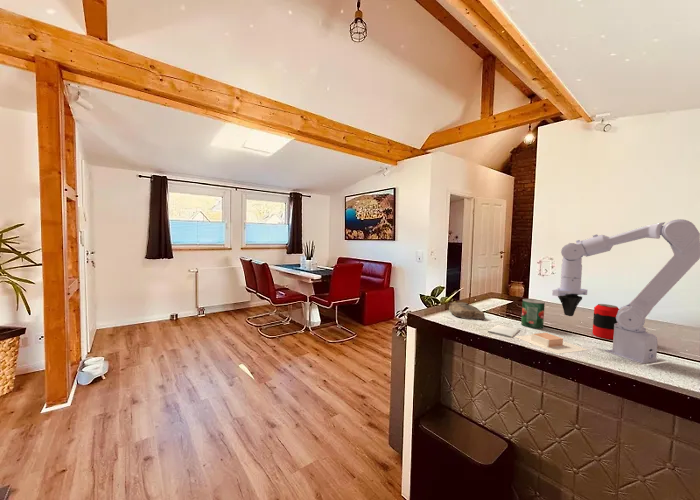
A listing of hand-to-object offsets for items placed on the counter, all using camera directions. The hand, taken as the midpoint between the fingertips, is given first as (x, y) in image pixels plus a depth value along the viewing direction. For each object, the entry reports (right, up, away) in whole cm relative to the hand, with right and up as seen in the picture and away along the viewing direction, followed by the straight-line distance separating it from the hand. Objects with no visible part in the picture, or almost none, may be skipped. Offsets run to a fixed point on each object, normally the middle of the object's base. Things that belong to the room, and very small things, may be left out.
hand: (568, 315), depth 102 cm
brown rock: (-23, -8, +37) cm, 44 cm away
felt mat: (-8, -9, -2) cm, 13 cm away
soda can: (+20, -10, +8) cm, 24 cm away
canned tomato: (-2, -9, +18) cm, 20 cm away
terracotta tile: (-6, -8, -2) cm, 10 cm away
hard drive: (-18, -9, +9) cm, 22 cm away
